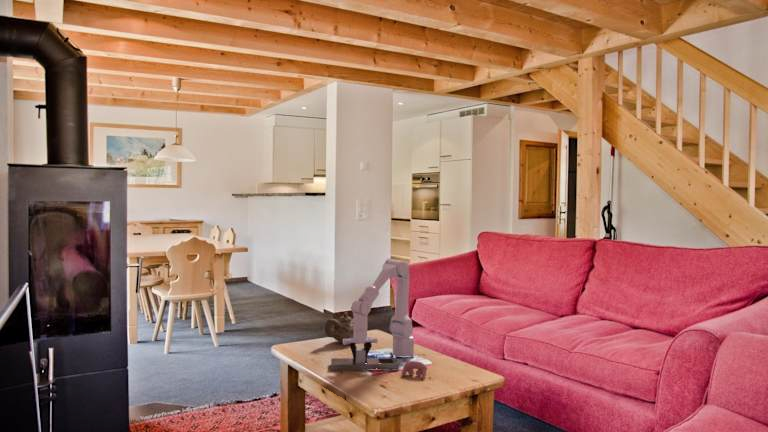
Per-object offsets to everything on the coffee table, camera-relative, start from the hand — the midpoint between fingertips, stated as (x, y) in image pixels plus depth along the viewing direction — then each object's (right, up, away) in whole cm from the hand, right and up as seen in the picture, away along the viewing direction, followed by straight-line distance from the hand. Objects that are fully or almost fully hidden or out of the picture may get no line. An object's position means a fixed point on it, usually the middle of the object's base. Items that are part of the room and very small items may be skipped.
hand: (359, 360), depth 234 cm
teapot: (-9, -1, +34) cm, 36 cm away
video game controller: (+22, -4, -9) cm, 25 cm away
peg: (0, -2, 0) cm, 2 cm away
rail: (+2, -3, 0) cm, 4 cm away
